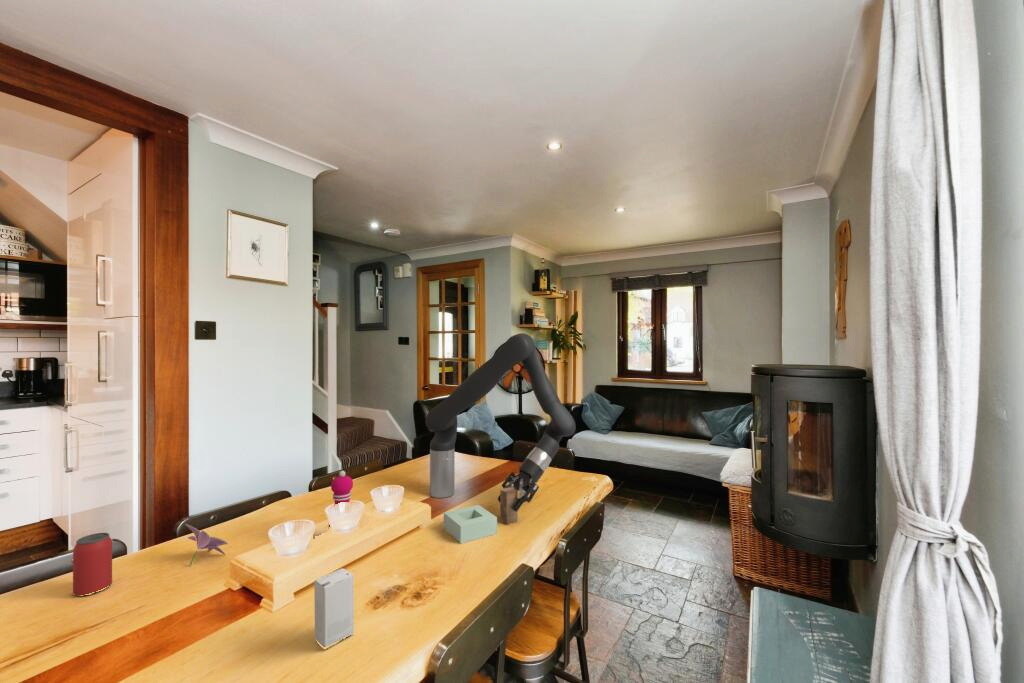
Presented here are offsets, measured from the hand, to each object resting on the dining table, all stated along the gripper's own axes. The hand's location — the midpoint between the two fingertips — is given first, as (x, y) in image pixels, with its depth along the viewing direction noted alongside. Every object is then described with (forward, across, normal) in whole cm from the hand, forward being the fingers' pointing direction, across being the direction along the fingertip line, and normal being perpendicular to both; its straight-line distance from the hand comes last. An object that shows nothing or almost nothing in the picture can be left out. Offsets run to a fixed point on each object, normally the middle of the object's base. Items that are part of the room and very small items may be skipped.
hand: (506, 505), depth 138 cm
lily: (+60, -23, -53) cm, 83 cm away
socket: (+13, 0, -6) cm, 14 cm away
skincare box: (+44, +29, -36) cm, 64 cm away
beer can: (+75, -19, -68) cm, 103 cm away
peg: (+3, 0, +4) cm, 5 cm away
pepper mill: (+37, -15, -30) cm, 50 cm away
